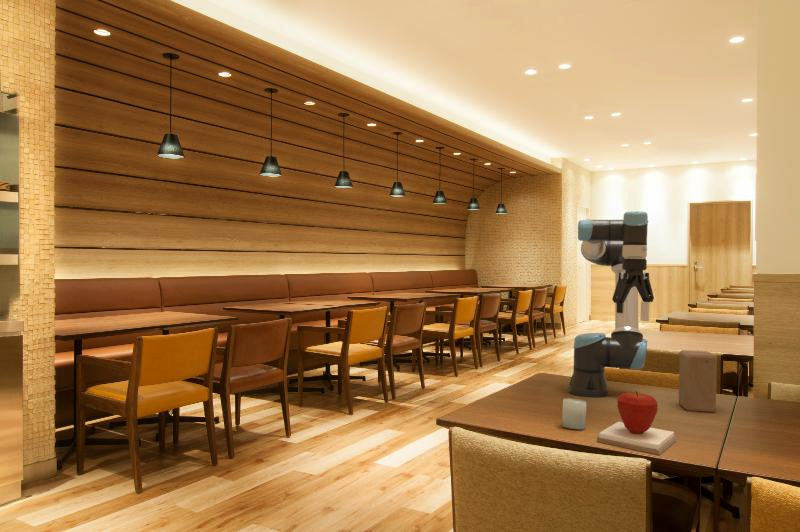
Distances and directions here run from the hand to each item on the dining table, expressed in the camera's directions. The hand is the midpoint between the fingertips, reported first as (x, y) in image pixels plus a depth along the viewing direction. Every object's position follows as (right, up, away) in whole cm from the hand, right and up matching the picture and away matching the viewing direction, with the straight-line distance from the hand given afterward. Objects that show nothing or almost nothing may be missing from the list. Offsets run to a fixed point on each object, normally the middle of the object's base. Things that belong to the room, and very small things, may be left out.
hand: (633, 322), depth 194 cm
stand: (-9, -32, -25) cm, 42 cm away
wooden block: (+28, -32, +14) cm, 45 cm away
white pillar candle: (-23, -31, -12) cm, 41 cm away
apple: (-9, -30, -25) cm, 40 cm away
